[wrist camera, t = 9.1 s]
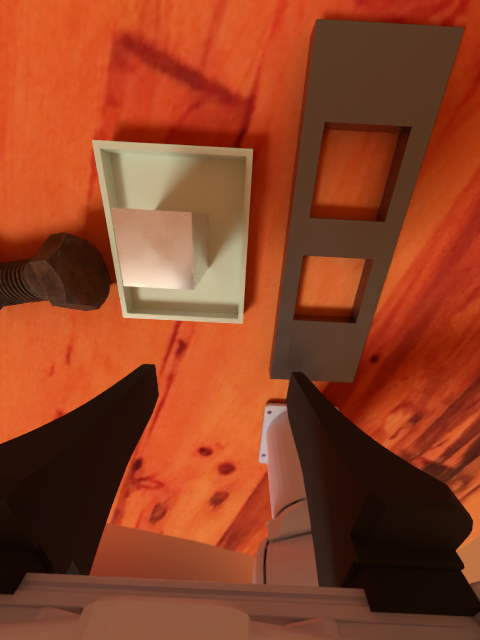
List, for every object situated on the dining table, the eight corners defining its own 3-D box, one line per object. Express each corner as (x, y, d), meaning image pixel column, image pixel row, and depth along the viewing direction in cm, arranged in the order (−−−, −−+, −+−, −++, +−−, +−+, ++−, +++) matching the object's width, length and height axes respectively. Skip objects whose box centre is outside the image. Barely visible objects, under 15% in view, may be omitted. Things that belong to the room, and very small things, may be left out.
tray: (242, 315, 21) (242, 323, 19) (132, 309, 21) (123, 317, 19) (252, 156, 16) (253, 148, 14) (107, 148, 16) (91, 140, 14)
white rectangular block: (208, 268, 18) (193, 290, 13) (159, 265, 18) (123, 285, 13) (208, 214, 17) (191, 212, 11) (154, 210, 17) (110, 207, 11)
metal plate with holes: (347, 375, 23) (352, 382, 22) (269, 370, 23) (270, 378, 22) (446, 43, 13) (464, 27, 12) (310, 35, 13) (316, 18, 12)
